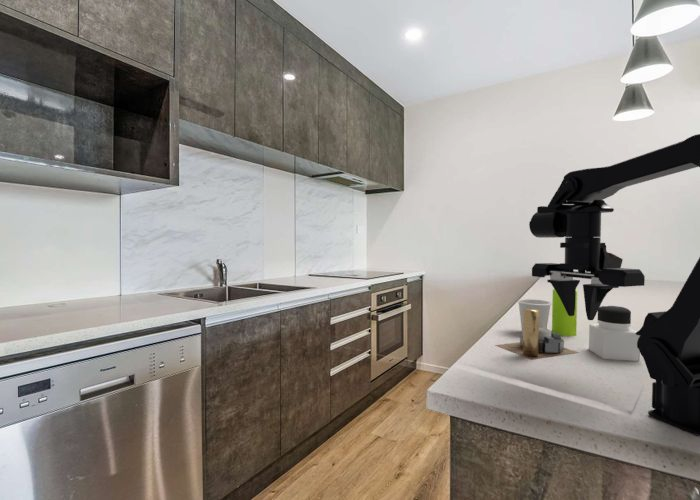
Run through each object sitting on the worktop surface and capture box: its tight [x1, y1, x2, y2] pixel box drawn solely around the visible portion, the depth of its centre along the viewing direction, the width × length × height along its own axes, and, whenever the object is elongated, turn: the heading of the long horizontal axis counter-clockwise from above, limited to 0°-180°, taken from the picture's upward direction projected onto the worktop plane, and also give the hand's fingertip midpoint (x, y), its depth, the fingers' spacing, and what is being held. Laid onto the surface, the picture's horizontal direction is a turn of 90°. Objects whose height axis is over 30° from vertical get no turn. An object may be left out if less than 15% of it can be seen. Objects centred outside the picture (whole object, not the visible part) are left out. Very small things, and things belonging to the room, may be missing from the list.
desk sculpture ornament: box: [519, 309, 565, 356], centre depth 83 cm, size 9×14×10 cm, turn 135°
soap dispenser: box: [551, 288, 578, 337], centre depth 98 cm, size 6×7×20 cm
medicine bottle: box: [588, 305, 641, 362], centre depth 80 cm, size 7×7×12 cm
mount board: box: [495, 328, 580, 361], centre depth 84 cm, size 11×14×5 cm
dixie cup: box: [517, 298, 552, 333], centre depth 98 cm, size 8×8×10 cm
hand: (580, 317), depth 68 cm, fingers open, 4 cm apart
